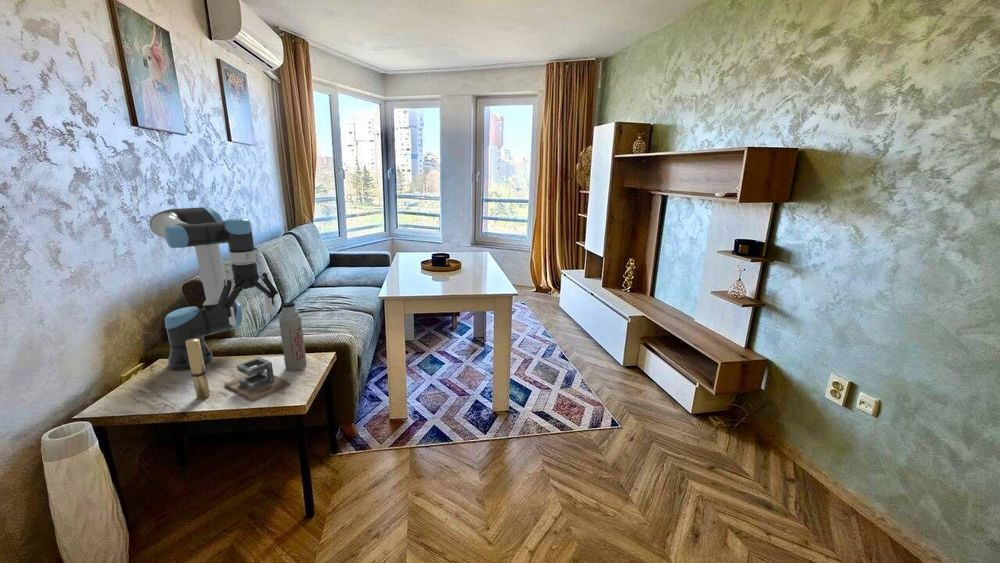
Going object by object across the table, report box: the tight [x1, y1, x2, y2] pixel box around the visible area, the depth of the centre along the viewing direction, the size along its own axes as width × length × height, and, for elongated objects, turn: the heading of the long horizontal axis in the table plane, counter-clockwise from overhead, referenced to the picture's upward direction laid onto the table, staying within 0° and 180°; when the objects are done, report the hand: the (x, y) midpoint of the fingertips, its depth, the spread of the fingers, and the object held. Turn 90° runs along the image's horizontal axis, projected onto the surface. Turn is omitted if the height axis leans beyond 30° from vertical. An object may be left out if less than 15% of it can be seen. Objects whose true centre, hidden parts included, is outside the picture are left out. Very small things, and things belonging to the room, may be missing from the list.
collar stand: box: [224, 356, 291, 402], centre depth 155 cm, size 20×14×9 cm
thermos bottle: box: [278, 301, 308, 372], centre depth 167 cm, size 8×8×28 cm
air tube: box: [185, 338, 211, 401], centre depth 145 cm, size 4×4×22 cm
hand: (252, 319), depth 149 cm, fingers open, 13 cm apart
